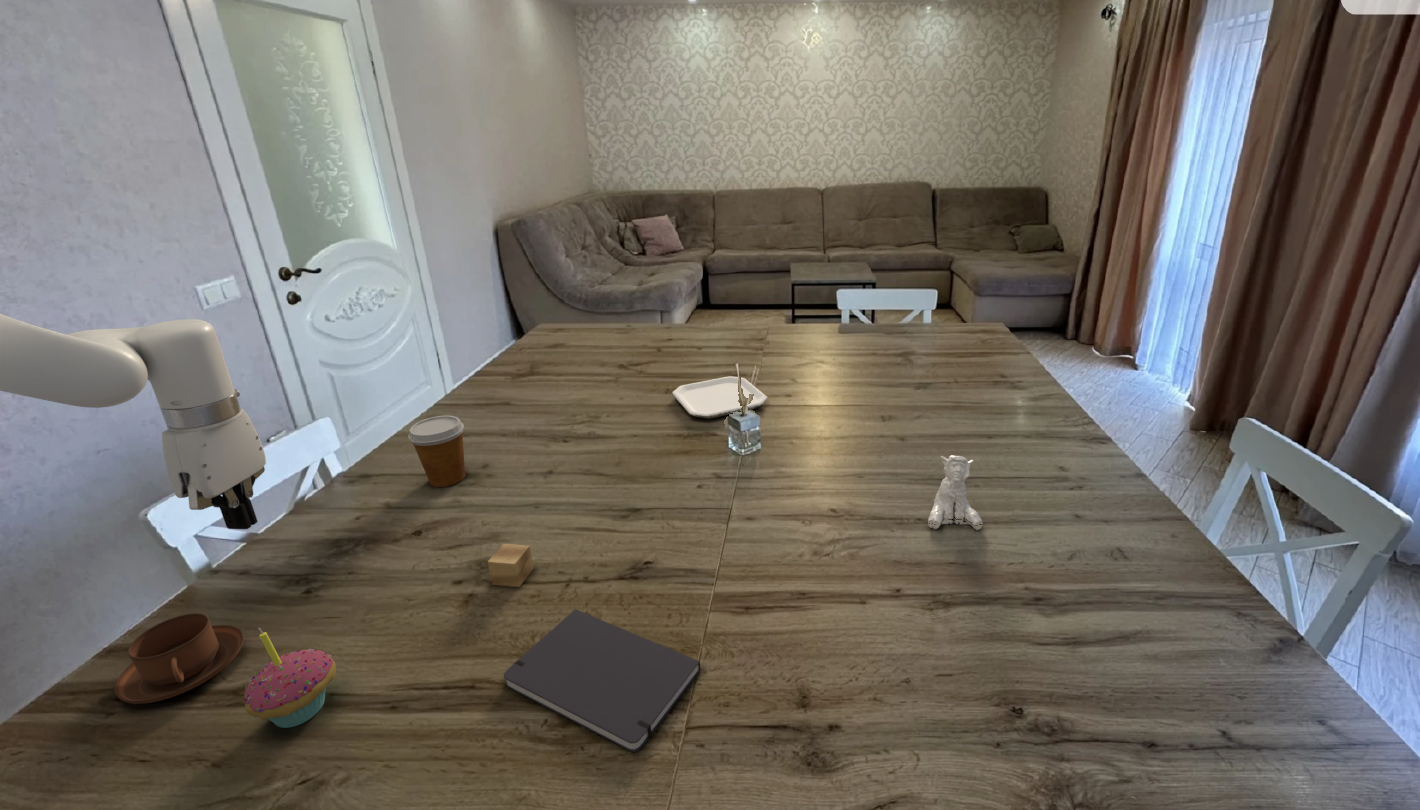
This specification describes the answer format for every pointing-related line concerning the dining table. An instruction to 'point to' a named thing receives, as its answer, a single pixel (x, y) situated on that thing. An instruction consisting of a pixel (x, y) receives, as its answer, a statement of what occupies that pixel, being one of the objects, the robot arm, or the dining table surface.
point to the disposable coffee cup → (440, 449)
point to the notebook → (603, 678)
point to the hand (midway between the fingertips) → (242, 525)
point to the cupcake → (289, 685)
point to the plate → (716, 397)
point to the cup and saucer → (176, 658)
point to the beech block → (511, 565)
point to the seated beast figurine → (954, 496)
